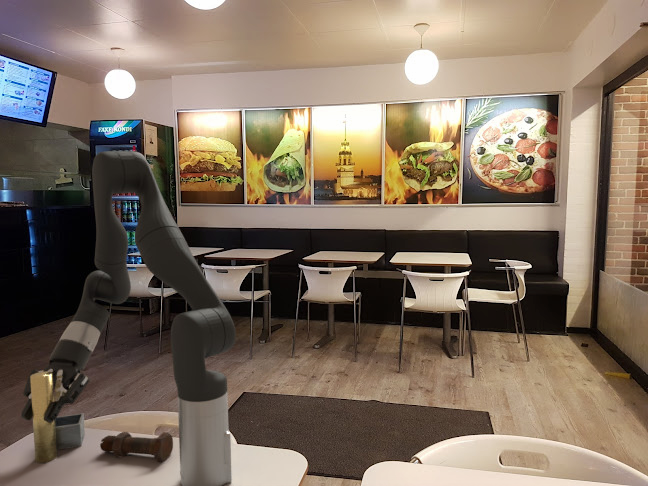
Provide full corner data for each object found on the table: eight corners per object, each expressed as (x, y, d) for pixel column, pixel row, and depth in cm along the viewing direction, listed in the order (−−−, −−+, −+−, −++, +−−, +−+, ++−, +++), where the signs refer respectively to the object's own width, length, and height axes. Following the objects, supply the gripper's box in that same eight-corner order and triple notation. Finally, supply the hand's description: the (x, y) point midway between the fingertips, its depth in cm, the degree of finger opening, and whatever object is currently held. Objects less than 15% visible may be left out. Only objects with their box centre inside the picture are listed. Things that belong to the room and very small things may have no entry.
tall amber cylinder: (58, 451, 104) (54, 370, 103) (55, 460, 101) (50, 376, 99) (37, 455, 103) (32, 372, 102) (33, 464, 99) (28, 379, 98)
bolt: (107, 458, 105) (170, 462, 102) (93, 457, 101) (158, 462, 98) (114, 429, 108) (175, 433, 104) (100, 427, 103) (164, 431, 100)
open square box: (84, 433, 112) (83, 413, 112) (81, 445, 107) (80, 424, 106) (55, 438, 110) (54, 417, 110) (50, 450, 105) (49, 428, 104)
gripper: (39, 336, 109) (-5, 410, 98) (94, 339, 105) (55, 416, 95) (59, 352, 114) (19, 423, 104) (111, 356, 111) (76, 430, 100)
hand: (36, 419), depth 99 cm, fingers open, 5 cm apart
